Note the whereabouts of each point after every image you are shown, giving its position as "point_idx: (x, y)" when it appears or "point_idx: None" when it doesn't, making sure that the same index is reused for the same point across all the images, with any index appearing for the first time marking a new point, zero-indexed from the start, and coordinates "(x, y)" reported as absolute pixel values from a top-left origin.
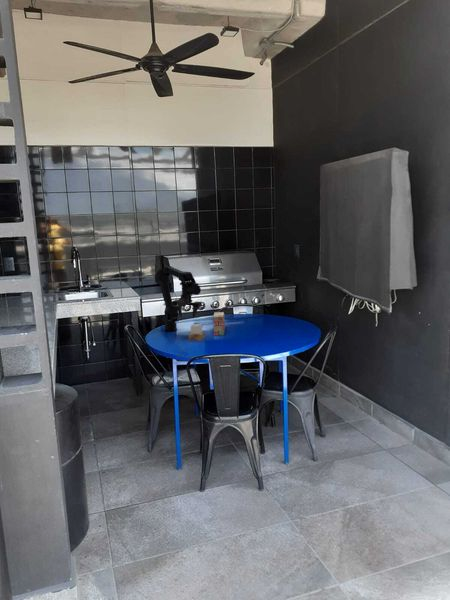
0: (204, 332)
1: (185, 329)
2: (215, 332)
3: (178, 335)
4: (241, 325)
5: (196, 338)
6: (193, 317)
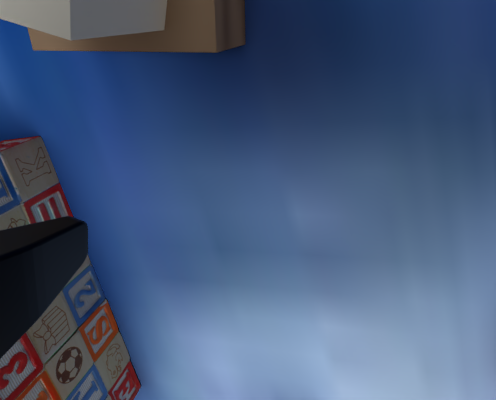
0: (37, 34)
1: (403, 366)
2: (1, 147)
3: (473, 113)
4: None
5: None
6: (59, 218)
